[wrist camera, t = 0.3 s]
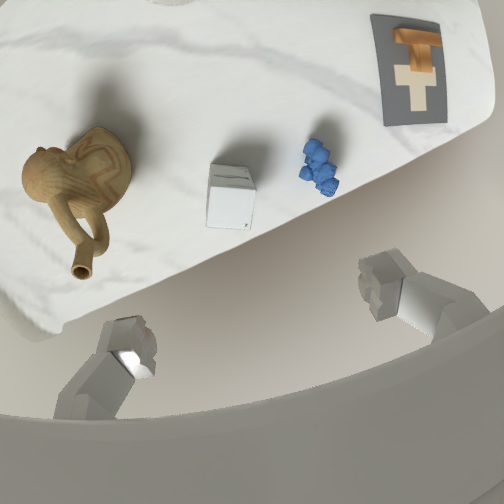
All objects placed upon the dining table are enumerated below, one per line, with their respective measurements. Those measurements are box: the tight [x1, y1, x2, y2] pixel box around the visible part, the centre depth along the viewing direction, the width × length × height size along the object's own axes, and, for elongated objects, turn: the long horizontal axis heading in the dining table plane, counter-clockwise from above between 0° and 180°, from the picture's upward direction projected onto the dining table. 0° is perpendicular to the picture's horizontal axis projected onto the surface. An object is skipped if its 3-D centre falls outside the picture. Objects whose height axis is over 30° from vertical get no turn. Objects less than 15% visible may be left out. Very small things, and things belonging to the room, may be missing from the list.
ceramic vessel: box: [22, 127, 131, 280], centre depth 41 cm, size 17×20×25 cm
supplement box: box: [206, 164, 256, 230], centre depth 52 cm, size 7×7×13 cm
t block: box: [392, 28, 442, 73], centre depth 42 cm, size 9×10×4 cm
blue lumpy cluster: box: [299, 139, 339, 197], centre depth 51 cm, size 12×7×12 cm, turn 22°
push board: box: [370, 15, 447, 127], centre depth 47 cm, size 24×18×1 cm
